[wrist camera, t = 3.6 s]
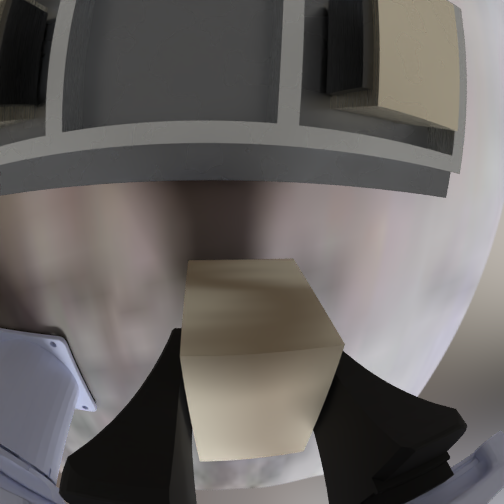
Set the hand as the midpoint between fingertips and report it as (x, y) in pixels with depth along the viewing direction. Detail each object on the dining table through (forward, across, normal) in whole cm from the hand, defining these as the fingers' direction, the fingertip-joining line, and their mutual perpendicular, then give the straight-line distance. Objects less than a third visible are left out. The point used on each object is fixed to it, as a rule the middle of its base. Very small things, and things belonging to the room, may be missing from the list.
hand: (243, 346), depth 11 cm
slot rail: (+5, +3, -12) cm, 13 cm away
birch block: (+2, 0, 0) cm, 2 cm away
